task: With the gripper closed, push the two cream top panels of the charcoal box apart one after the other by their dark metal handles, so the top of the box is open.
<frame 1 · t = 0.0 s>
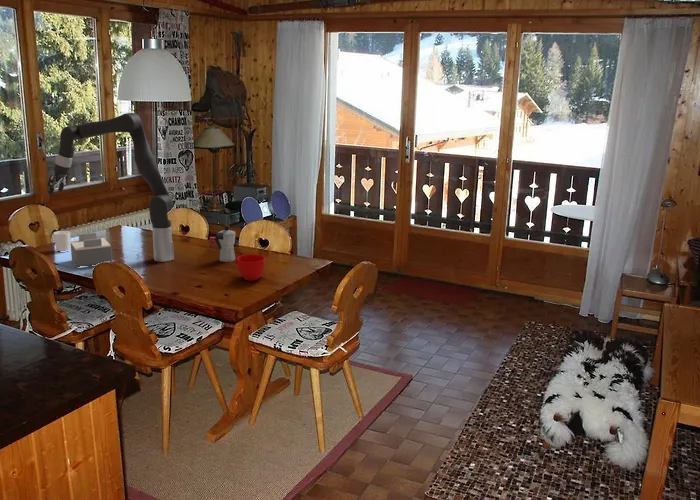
hand: (55, 192, 338), 31 cm above the table, tool tilted 20°, fingers open, 8 cm apart
ceramic cup: (248, 277, 313), on the table
far panel: (88, 238, 330), point 11 cm above the table, slide at 0.0 cm
white cup: (63, 251, 349), on the table
coffee maker: (226, 260, 340), on the table
near panel: (91, 242, 324), point 11 cm above the table, slide at 0.0 cm
box: (91, 262, 330), on the table
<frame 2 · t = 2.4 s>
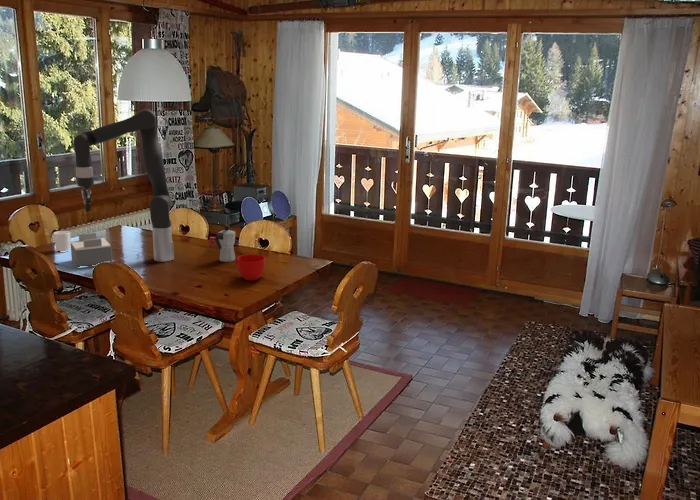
hand: (87, 211, 323), 26 cm above the table, tool pointing down, fingers closed
nothing on the table moved.
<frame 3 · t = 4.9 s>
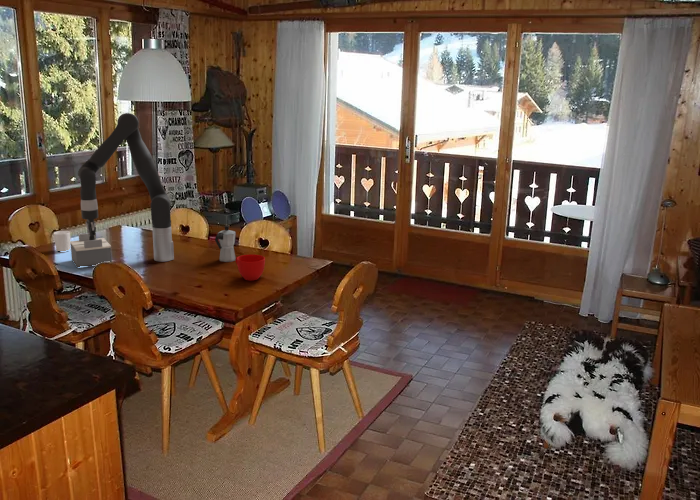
hand: (92, 243, 323), 11 cm above the table, tool pointing down, fingers closed
near panel: (92, 243, 323), point 11 cm above the table, slide at 1.6 cm, touching gripper
everything else where it was.
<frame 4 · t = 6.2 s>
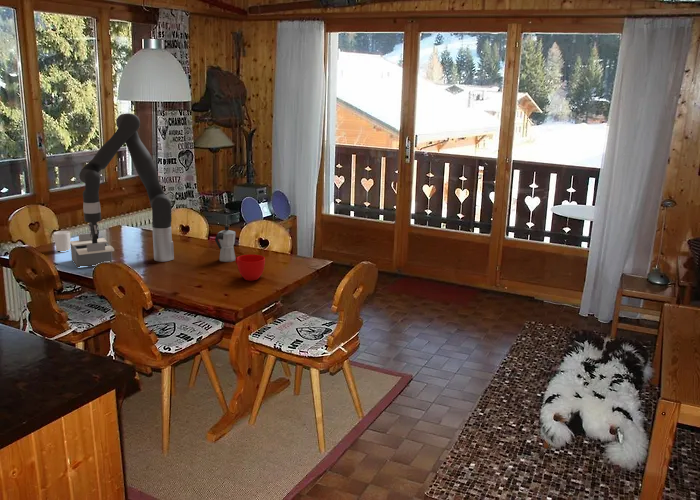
hand: (95, 246, 317), 11 cm above the table, tool pointing down, fingers closed
near panel: (95, 246, 317), point 11 cm above the table, slide at 8.6 cm, touching gripper
everything else where it was.
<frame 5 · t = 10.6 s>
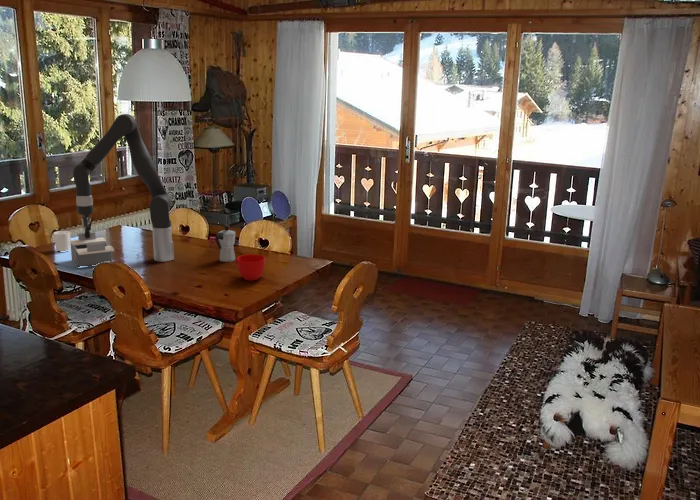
hand: (87, 238, 331), 11 cm above the table, tool pointing down, fingers closed
far panel: (87, 238, 332), point 11 cm above the table, slide at 1.5 cm, touching gripper
near panel: (95, 246, 317), point 11 cm above the table, slide at 8.7 cm
everything else where it was.
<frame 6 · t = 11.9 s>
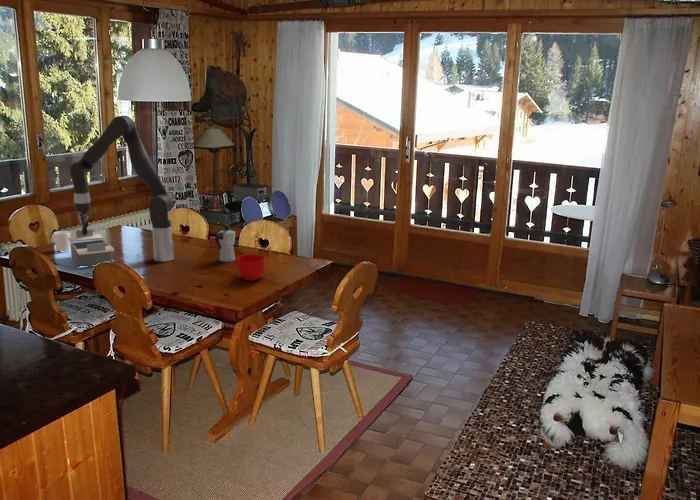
hand: (84, 234, 337), 11 cm above the table, tool pointing down, fingers closed
far panel: (85, 234, 338), point 11 cm above the table, slide at 8.7 cm, touching gripper
everything else where it was.
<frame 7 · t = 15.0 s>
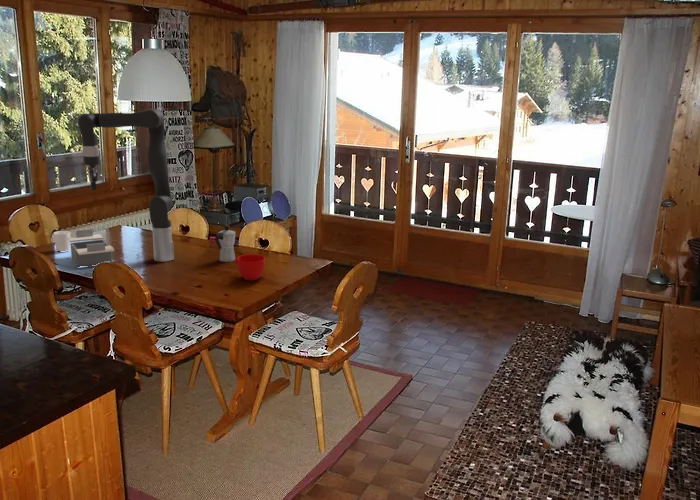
hand: (93, 189, 330), 35 cm above the table, tool pointing down, fingers closed
far panel: (85, 234, 338), point 11 cm above the table, slide at 8.8 cm
everything else where it was.
at the end: near panel slide at 8.7 cm; far panel slide at 8.8 cm; white cup moved 0.2 cm from its start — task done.
